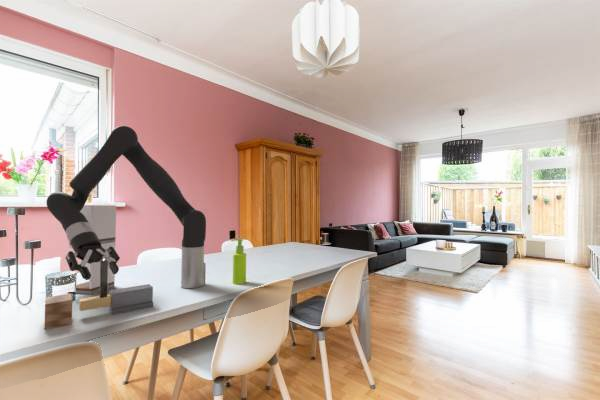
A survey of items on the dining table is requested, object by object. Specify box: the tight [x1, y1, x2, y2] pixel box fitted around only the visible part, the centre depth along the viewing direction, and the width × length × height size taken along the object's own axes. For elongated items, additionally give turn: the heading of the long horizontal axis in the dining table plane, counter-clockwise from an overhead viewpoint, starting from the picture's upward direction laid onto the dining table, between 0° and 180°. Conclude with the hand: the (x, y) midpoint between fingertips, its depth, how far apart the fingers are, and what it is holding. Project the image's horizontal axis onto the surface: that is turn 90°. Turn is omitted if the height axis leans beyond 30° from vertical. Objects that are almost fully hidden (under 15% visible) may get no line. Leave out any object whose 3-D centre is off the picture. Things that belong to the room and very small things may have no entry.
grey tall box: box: [68, 204, 117, 295], centre depth 119 cm, size 11×11×35 cm
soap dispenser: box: [230, 238, 247, 285], centre depth 131 cm, size 6×7×20 cm
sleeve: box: [108, 283, 154, 316], centre depth 97 cm, size 12×7×6 cm, turn 131°
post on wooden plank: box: [79, 260, 112, 312], centre depth 94 cm, size 18×3×14 cm, turn 131°
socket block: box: [43, 293, 73, 330], centre depth 85 cm, size 6×8×7 cm
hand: (103, 275), depth 92 cm, fingers open, 8 cm apart
